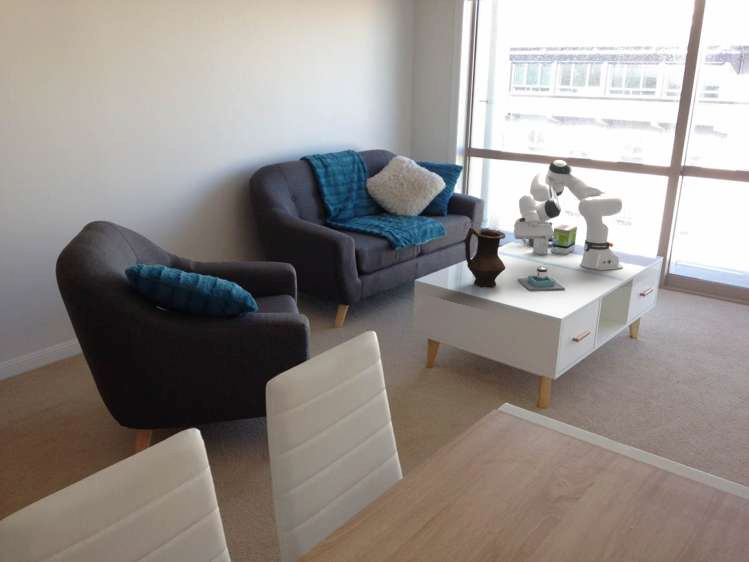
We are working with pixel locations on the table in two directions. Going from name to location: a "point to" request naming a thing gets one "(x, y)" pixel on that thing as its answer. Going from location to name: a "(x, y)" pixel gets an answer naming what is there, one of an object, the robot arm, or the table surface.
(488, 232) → the jug
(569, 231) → the tea box
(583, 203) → the robot arm
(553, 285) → the stand
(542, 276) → the glass jar
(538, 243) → the skincare box
